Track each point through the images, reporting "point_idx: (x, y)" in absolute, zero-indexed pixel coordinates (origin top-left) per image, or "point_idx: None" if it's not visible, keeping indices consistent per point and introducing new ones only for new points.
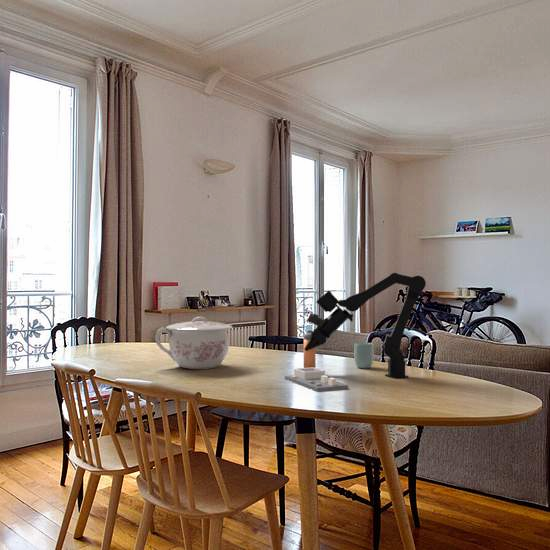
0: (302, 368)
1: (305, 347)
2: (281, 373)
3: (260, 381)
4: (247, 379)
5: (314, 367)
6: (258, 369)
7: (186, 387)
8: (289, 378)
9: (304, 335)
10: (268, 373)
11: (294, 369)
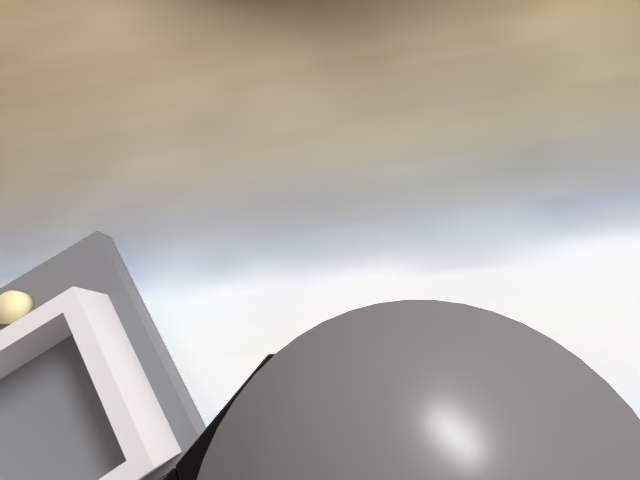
0: (84, 357)
1: (252, 373)
2: (319, 186)
3: (38, 116)
4: (98, 44)
5: (142, 475)
6: (438, 29)
7: None
8: (34, 272)
9: (298, 343)
10: (304, 109)
11: (75, 289)
